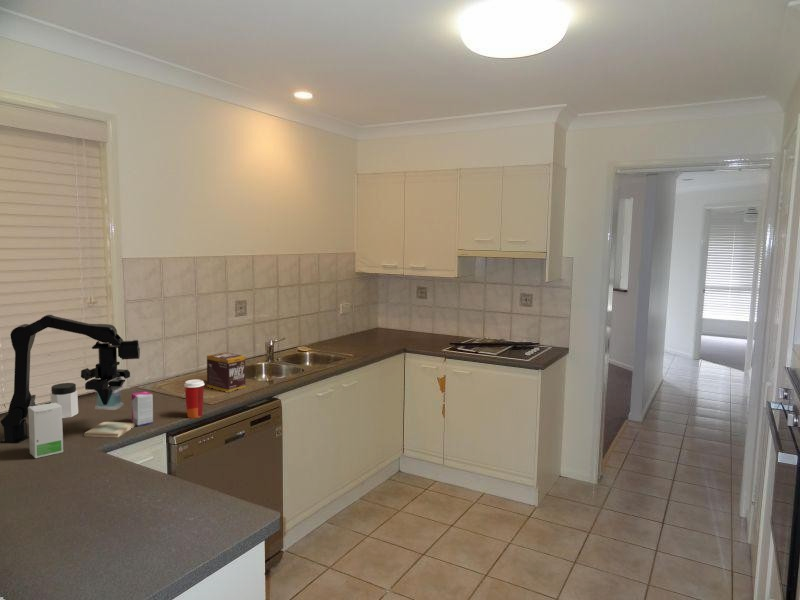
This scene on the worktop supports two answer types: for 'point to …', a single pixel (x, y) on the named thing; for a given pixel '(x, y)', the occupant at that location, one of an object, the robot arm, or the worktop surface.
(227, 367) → the supplement box
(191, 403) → the paper cup
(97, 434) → the birch stand
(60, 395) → the jar
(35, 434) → the skincare box
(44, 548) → the worktop surface
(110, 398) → the housing
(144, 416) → the supplement box
